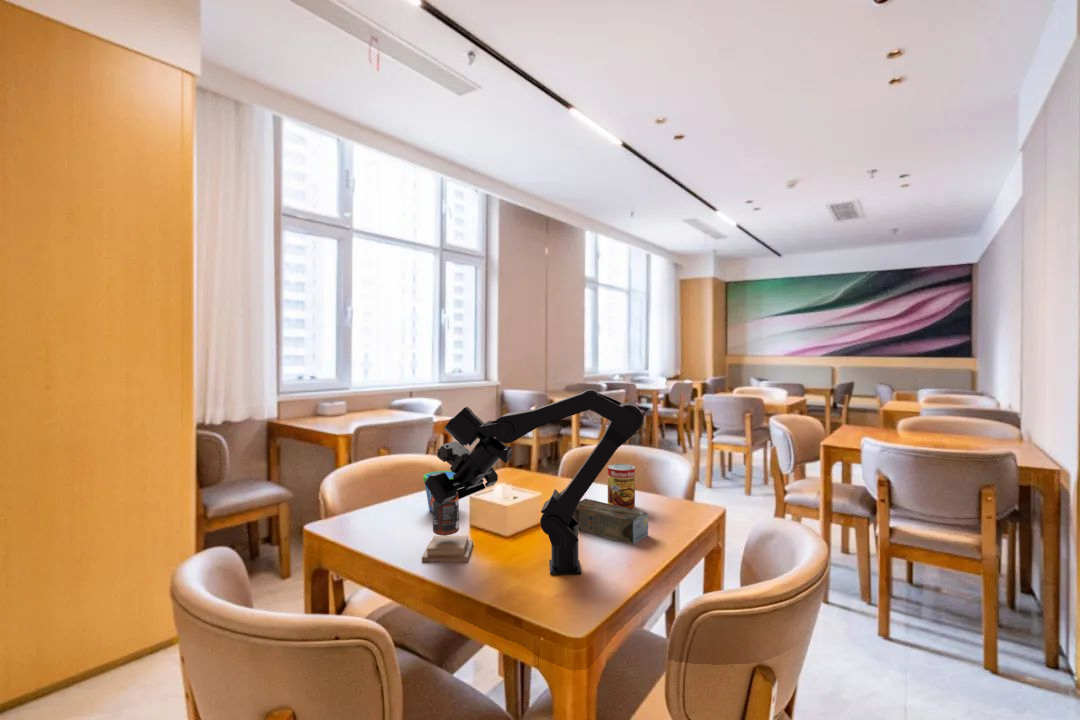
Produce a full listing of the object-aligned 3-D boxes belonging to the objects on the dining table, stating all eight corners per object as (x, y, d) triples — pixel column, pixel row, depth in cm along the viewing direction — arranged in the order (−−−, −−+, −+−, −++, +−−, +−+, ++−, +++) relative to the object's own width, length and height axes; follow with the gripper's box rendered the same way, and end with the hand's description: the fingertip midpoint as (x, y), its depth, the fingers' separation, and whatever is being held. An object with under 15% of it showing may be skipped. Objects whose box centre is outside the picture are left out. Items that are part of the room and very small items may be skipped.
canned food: (613, 512, 147) (613, 470, 147) (603, 504, 155) (603, 464, 155) (639, 510, 149) (639, 468, 149) (628, 502, 157) (628, 463, 156)
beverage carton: (633, 545, 123) (633, 518, 123) (567, 528, 135) (567, 503, 135) (649, 536, 129) (649, 510, 129) (585, 520, 141) (584, 496, 141)
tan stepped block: (467, 561, 113) (467, 550, 113) (421, 561, 113) (421, 550, 113) (473, 544, 123) (473, 533, 123) (430, 544, 123) (430, 534, 123)
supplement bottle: (464, 531, 119) (464, 481, 119) (444, 538, 115) (443, 487, 114) (447, 525, 123) (447, 478, 123) (427, 532, 118) (426, 483, 118)
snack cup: (423, 503, 157) (423, 469, 157) (458, 500, 159) (458, 467, 159) (423, 519, 142) (423, 482, 141) (462, 516, 144) (462, 480, 144)
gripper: (487, 425, 123) (453, 467, 130) (430, 437, 108) (395, 483, 114) (514, 462, 119) (478, 503, 126) (459, 480, 104) (421, 525, 110)
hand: (444, 502), depth 119 cm, fingers closed on supplement bottle, 6 cm apart
